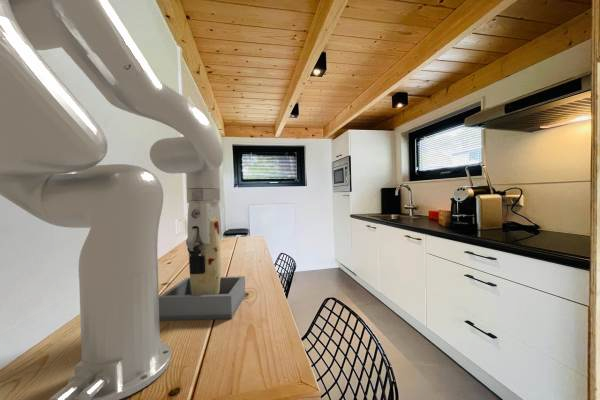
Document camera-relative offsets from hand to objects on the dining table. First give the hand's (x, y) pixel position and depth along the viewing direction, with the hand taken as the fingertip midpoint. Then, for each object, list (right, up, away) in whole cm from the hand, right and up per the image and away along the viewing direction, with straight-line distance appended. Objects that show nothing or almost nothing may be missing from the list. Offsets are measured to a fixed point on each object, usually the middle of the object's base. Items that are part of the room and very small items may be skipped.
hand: (205, 267), depth 58 cm
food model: (0, -7, 0) cm, 7 cm away
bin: (0, -9, 0) cm, 9 cm away
